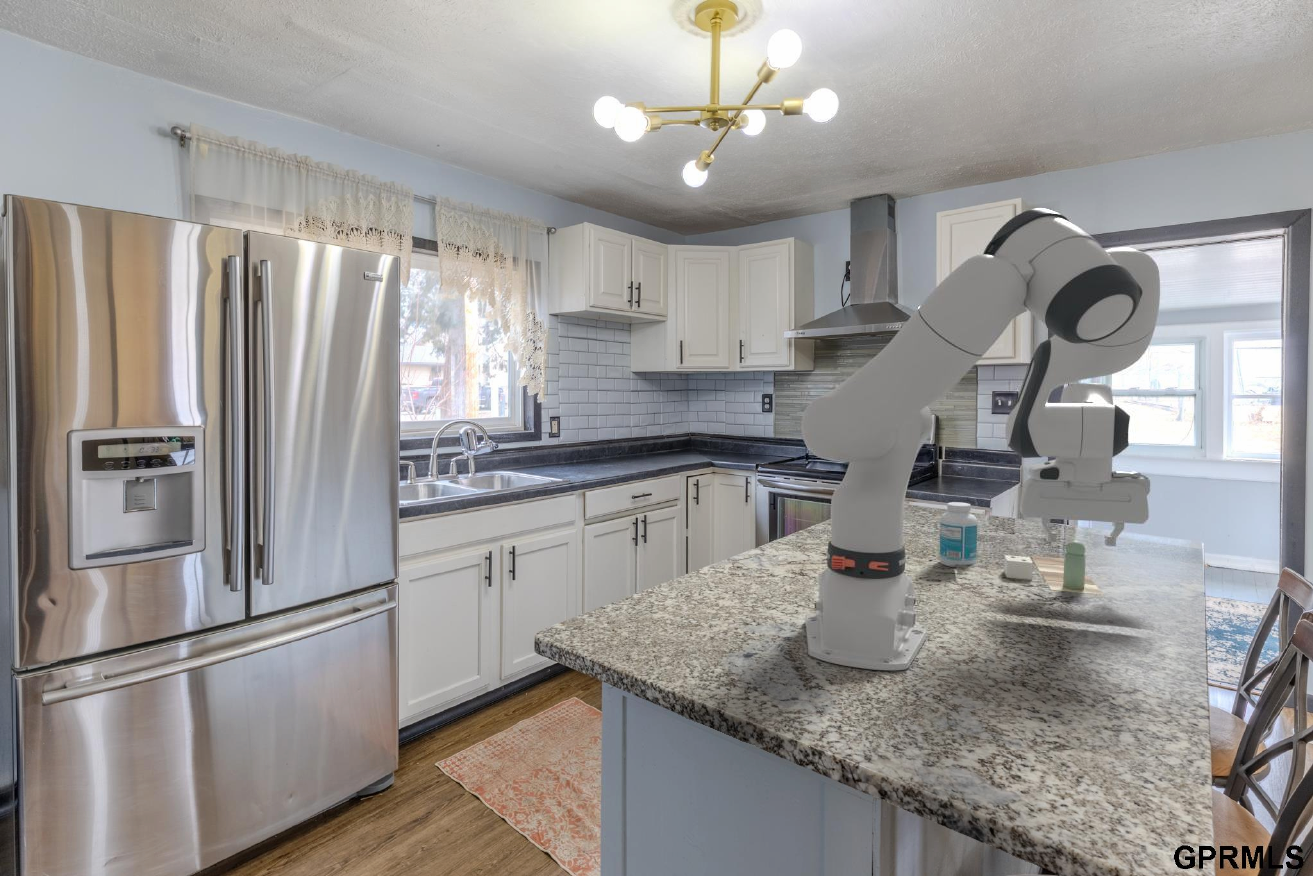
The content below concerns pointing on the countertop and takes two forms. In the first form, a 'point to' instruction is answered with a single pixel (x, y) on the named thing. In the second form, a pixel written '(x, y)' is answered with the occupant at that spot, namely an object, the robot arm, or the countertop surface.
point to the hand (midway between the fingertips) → (1080, 543)
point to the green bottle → (1074, 566)
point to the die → (1018, 567)
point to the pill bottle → (958, 535)
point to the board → (1060, 575)
